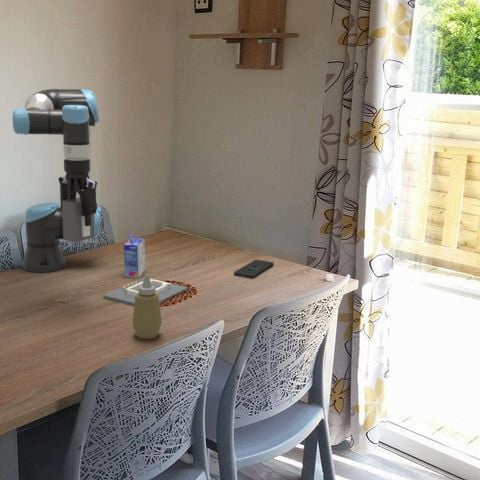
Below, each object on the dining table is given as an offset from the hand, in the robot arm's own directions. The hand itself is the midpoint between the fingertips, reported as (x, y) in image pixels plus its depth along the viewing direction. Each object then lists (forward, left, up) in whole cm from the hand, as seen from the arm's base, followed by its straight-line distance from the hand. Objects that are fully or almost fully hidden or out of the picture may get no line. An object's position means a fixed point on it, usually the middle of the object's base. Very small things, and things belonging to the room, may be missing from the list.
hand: (79, 234), depth 195 cm
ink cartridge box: (-6, +34, -23) cm, 42 cm away
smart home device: (+28, +64, -23) cm, 73 cm away
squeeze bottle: (+32, -8, -23) cm, 40 cm away
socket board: (+11, +19, -23) cm, 32 cm away
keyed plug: (0, 0, -1) cm, 1 cm away
